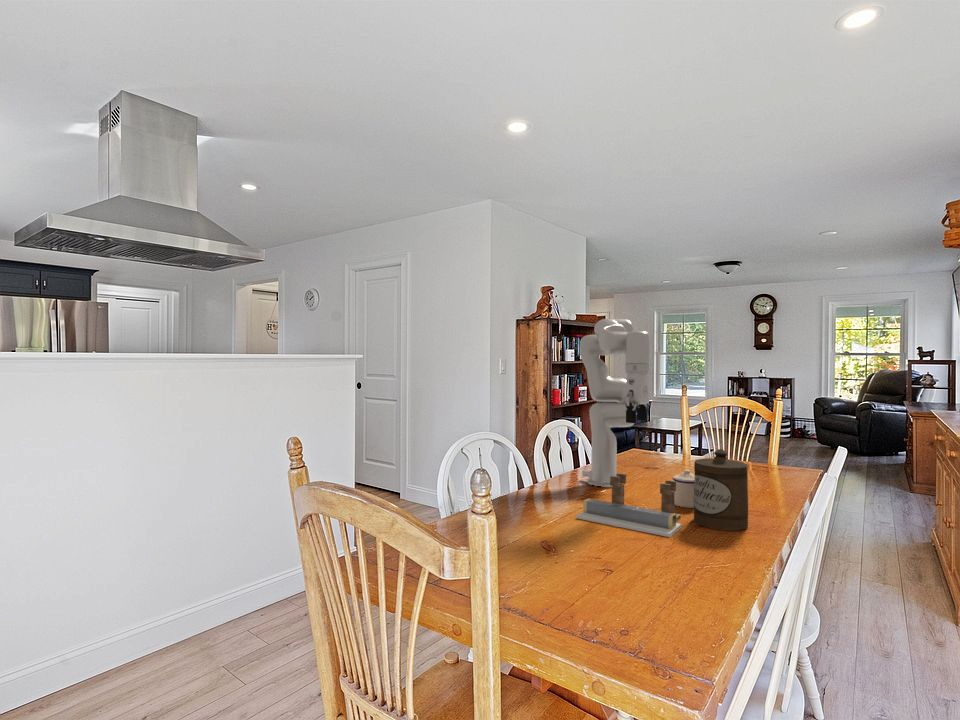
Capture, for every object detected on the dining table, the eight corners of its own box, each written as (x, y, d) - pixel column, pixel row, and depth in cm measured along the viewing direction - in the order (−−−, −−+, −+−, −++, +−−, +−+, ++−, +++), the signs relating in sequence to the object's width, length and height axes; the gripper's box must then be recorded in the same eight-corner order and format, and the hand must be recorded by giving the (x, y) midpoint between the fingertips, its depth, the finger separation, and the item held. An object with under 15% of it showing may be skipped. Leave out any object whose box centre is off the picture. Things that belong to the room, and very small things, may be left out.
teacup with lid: (699, 510, 175) (699, 474, 175) (670, 506, 179) (670, 471, 179) (703, 501, 185) (704, 467, 185) (676, 498, 190) (676, 465, 190)
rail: (583, 512, 167) (583, 500, 167) (588, 509, 170) (588, 498, 170) (672, 529, 151) (672, 517, 151) (676, 526, 154) (676, 514, 154)
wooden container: (682, 519, 165) (683, 447, 165) (717, 513, 171) (718, 444, 171) (723, 533, 151) (724, 455, 151) (759, 527, 158) (760, 452, 157)
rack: (605, 509, 174) (605, 475, 174) (612, 505, 179) (613, 472, 179) (674, 522, 161) (675, 485, 161) (680, 517, 166) (681, 482, 166)
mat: (576, 518, 164) (576, 515, 164) (592, 510, 173) (592, 507, 173) (669, 537, 148) (669, 533, 148) (681, 527, 157) (681, 523, 157)
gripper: (638, 369, 167) (638, 425, 167) (657, 369, 181) (656, 420, 181) (615, 369, 172) (615, 423, 172) (635, 368, 186) (634, 418, 186)
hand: (636, 421), depth 176 cm, fingers open, 9 cm apart
